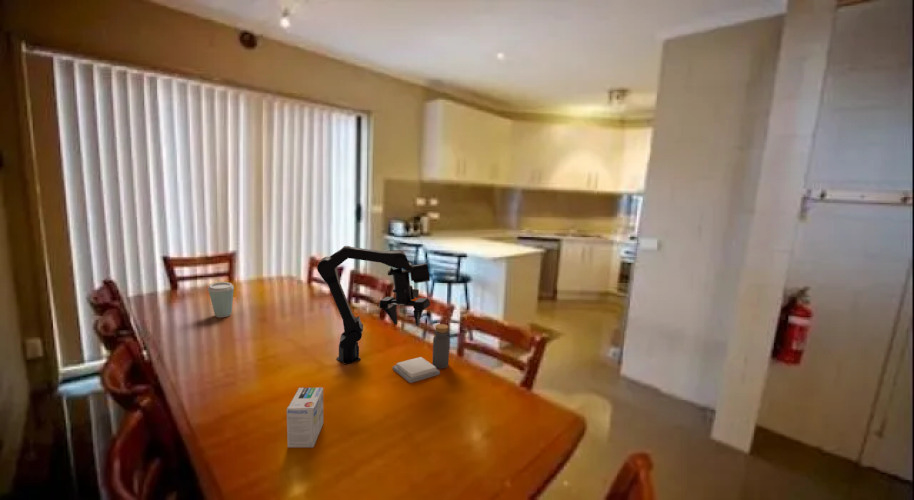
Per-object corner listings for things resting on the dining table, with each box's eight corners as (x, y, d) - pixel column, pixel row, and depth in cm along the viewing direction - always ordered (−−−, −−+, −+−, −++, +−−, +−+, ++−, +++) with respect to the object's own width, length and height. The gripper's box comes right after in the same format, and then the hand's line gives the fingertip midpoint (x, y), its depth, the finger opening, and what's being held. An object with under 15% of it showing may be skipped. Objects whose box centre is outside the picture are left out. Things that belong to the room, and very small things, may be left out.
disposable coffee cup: (240, 315, 196) (238, 284, 194) (217, 321, 187) (215, 288, 185) (227, 310, 202) (226, 280, 199) (204, 316, 193) (202, 284, 190)
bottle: (446, 369, 149) (447, 329, 147) (430, 367, 151) (431, 328, 148) (449, 363, 155) (451, 324, 153) (434, 361, 156) (435, 322, 154)
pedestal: (410, 383, 139) (410, 376, 138) (392, 369, 148) (392, 362, 148) (439, 374, 146) (440, 367, 145) (421, 361, 155) (421, 355, 155)
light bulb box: (299, 423, 114) (298, 386, 112) (324, 423, 114) (323, 386, 113) (286, 448, 103) (285, 408, 102) (314, 448, 104) (313, 408, 102)
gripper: (434, 279, 157) (438, 318, 160) (391, 278, 164) (396, 316, 167) (420, 288, 147) (425, 329, 150) (375, 286, 154) (381, 326, 157)
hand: (406, 325), depth 156 cm, fingers open, 9 cm apart
